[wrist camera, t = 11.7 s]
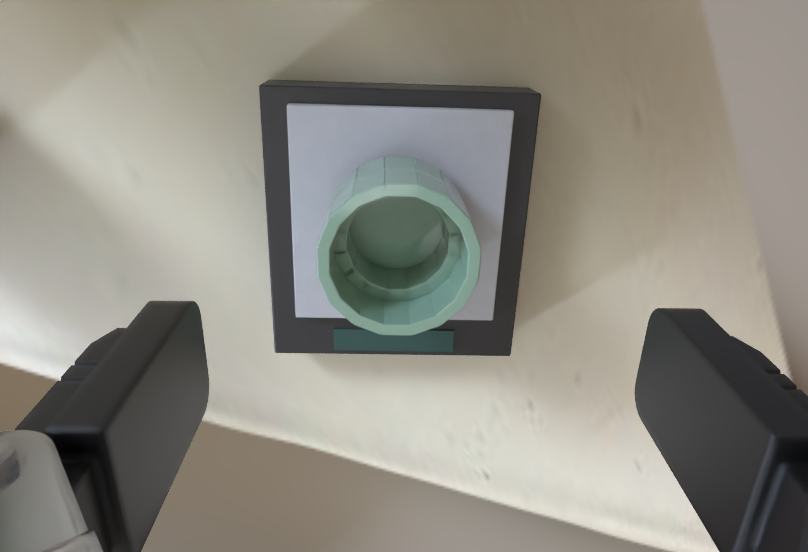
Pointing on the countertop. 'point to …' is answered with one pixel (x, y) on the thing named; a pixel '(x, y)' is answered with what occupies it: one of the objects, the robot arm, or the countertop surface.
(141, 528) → the robot arm
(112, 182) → the countertop surface
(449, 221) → the bowl
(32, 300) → the countertop surface
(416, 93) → the scale
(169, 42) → the countertop surface
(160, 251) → the countertop surface
